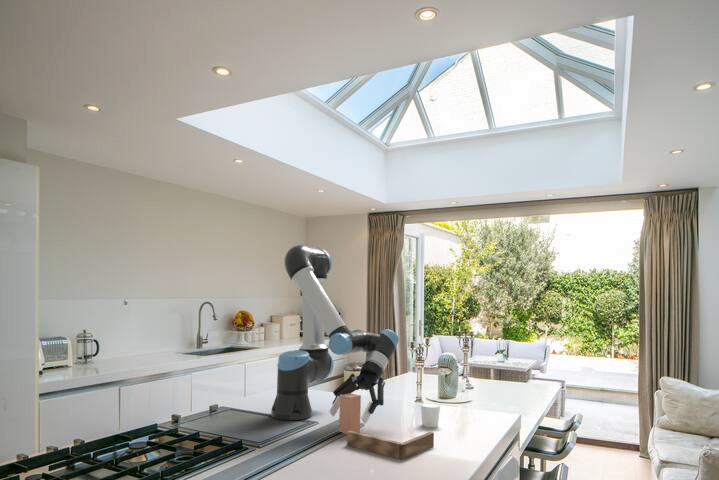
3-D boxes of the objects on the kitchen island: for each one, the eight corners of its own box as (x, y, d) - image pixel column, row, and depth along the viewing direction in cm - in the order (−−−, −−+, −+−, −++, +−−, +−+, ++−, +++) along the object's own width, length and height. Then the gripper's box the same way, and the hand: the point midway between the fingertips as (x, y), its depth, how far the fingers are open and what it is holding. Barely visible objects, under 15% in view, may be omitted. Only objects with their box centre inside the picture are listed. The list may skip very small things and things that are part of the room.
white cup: (439, 428, 180) (439, 407, 181) (419, 426, 181) (419, 406, 182) (440, 423, 187) (440, 403, 187) (421, 422, 188) (421, 402, 189)
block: (338, 432, 172) (340, 395, 173) (348, 429, 176) (349, 393, 177) (350, 435, 169) (351, 397, 170) (359, 431, 173) (360, 395, 174)
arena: (346, 445, 158) (347, 431, 158) (379, 433, 171) (379, 421, 172) (403, 459, 145) (403, 445, 145) (433, 446, 159) (433, 432, 159)
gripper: (407, 377, 179) (382, 430, 165) (351, 369, 194) (323, 417, 180) (399, 363, 175) (373, 416, 162) (342, 356, 190) (314, 404, 177)
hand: (347, 417), depth 171 cm, fingers open, 13 cm apart
